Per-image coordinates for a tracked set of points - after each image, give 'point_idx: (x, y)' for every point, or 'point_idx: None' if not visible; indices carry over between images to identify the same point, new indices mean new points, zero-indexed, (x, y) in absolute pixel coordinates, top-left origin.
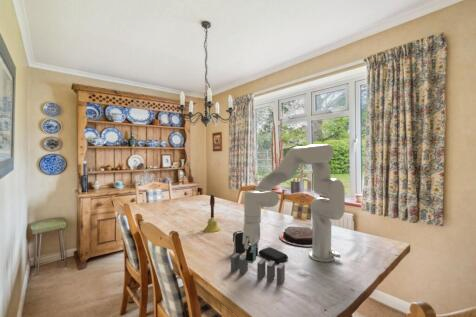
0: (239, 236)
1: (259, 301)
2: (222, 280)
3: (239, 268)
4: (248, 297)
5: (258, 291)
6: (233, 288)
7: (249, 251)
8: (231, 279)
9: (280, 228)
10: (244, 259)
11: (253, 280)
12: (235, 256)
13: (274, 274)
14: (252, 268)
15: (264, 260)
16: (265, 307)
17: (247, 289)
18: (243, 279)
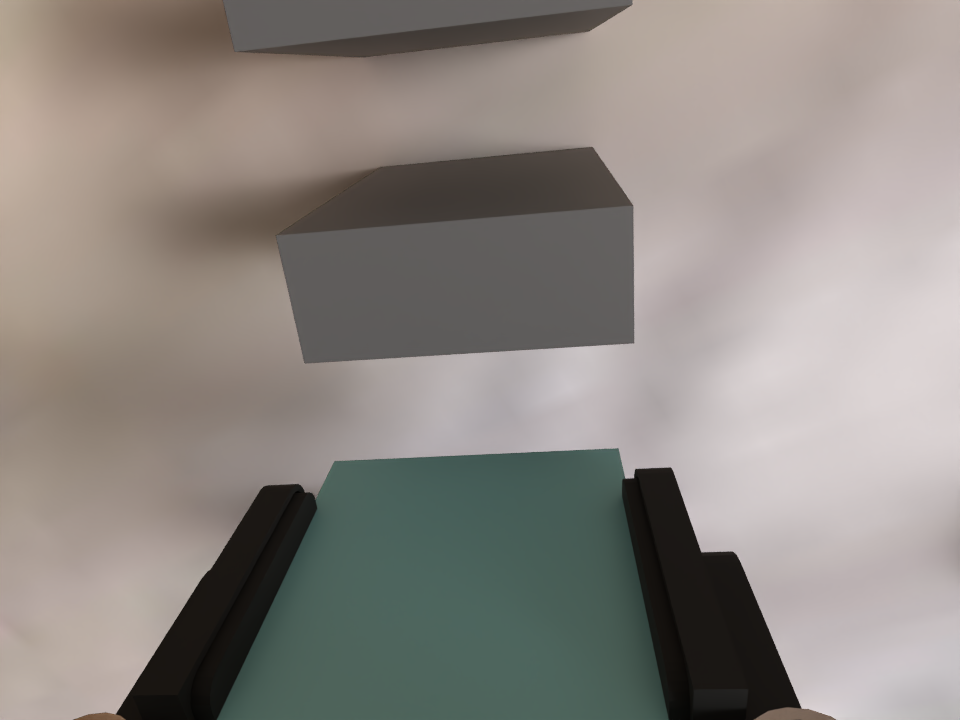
0: None
1: (63, 648)
2: (8, 11)
3: (355, 188)
4: (23, 543)
5: (193, 586)
6: (3, 312)
7: None
8: (150, 143)
9: None
10: (392, 347)
11: (359, 450)
12: (337, 10)
13: None
14: (701, 275)
15: None
16: (39, 710)
17: (130, 473)
18: (286, 317)
